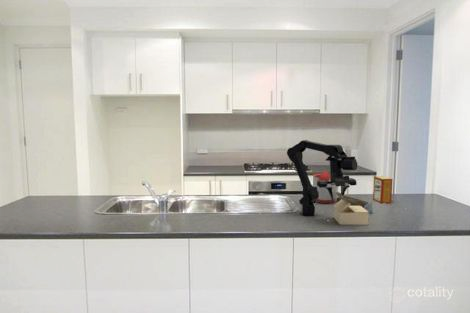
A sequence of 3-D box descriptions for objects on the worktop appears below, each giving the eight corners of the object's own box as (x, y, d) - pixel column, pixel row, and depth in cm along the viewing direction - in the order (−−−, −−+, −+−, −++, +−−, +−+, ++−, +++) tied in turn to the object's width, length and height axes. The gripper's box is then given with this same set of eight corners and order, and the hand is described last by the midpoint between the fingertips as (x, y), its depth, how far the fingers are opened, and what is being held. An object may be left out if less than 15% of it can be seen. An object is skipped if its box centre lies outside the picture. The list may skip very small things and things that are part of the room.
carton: (339, 224, 154) (340, 211, 153) (333, 217, 165) (334, 205, 164) (367, 224, 154) (368, 211, 153) (359, 217, 165) (360, 205, 164)
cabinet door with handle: (340, 212, 154) (332, 204, 153) (334, 206, 164) (326, 198, 164) (351, 204, 153) (343, 195, 152) (344, 198, 164) (337, 190, 163)
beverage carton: (363, 215, 169) (364, 204, 168) (335, 207, 185) (336, 196, 184) (372, 213, 173) (373, 201, 172) (344, 205, 189) (344, 195, 189)
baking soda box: (373, 199, 201) (374, 175, 199) (382, 199, 202) (383, 175, 200) (381, 203, 192) (382, 178, 190) (391, 203, 192) (392, 178, 191)
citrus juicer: (309, 203, 192) (310, 172, 190) (313, 197, 208) (314, 168, 206) (335, 206, 186) (336, 174, 184) (338, 199, 202) (339, 169, 200)
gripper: (321, 173, 149) (323, 204, 150) (360, 170, 148) (361, 201, 150) (316, 169, 160) (317, 198, 161) (352, 167, 159) (353, 196, 161)
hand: (337, 199), depth 158 cm, fingers open, 5 cm apart
